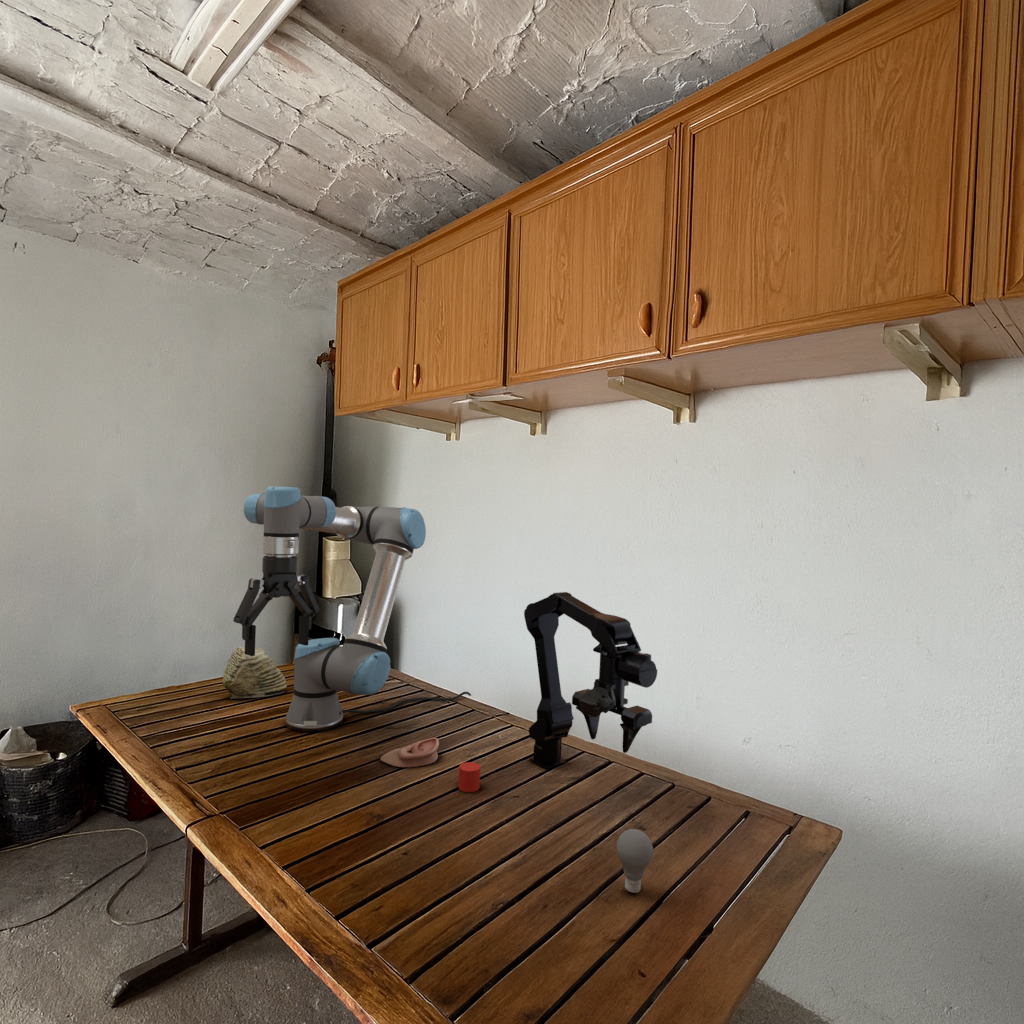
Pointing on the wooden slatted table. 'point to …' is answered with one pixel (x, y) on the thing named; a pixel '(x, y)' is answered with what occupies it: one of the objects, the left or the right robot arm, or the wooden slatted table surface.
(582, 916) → the wooden slatted table surface
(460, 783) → the canister
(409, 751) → the anatomical model
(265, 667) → the fossil
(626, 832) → the light bulb
